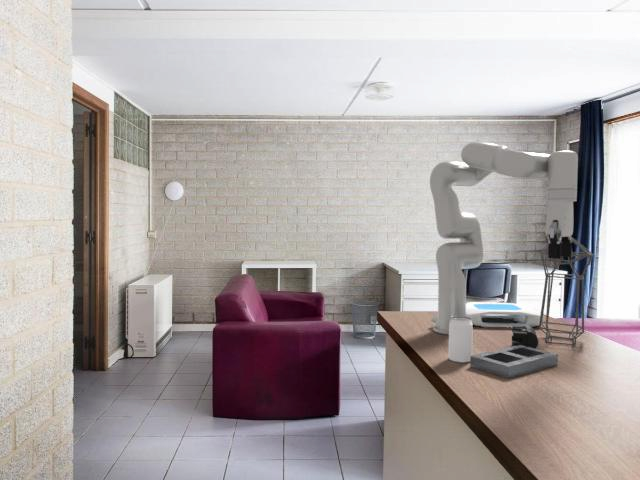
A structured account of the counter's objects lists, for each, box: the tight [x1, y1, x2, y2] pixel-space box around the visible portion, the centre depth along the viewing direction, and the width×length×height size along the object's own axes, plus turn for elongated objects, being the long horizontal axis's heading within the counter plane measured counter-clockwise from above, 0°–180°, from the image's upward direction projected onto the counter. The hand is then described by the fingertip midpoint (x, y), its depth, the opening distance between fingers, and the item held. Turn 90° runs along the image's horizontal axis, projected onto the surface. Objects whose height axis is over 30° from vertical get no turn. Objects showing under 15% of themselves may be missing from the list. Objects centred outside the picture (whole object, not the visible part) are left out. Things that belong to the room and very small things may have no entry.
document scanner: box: [466, 301, 544, 329], centre depth 199 cm, size 21×28×6 cm
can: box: [448, 316, 474, 364], centre depth 145 cm, size 6×6×12 cm
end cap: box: [511, 325, 539, 349], centre depth 157 cm, size 10×7×7 cm
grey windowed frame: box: [469, 345, 559, 379], centre depth 140 cm, size 12×22×3 cm, turn 124°
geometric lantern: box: [538, 236, 596, 346], centre depth 167 cm, size 16×16×35 cm
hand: (559, 257), depth 143 cm, fingers open, 9 cm apart
